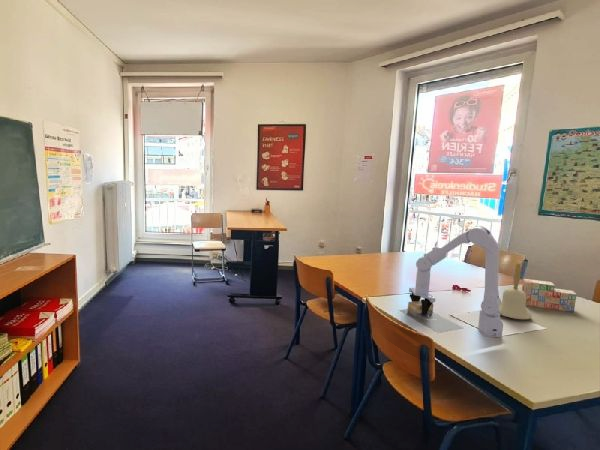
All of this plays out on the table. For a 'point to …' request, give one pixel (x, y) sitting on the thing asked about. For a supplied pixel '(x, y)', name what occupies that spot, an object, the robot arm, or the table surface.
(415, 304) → the felt eraser
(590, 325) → the table surface
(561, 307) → the stack of blocks
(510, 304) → the handbell
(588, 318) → the table surface
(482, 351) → the table surface
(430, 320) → the slate board
